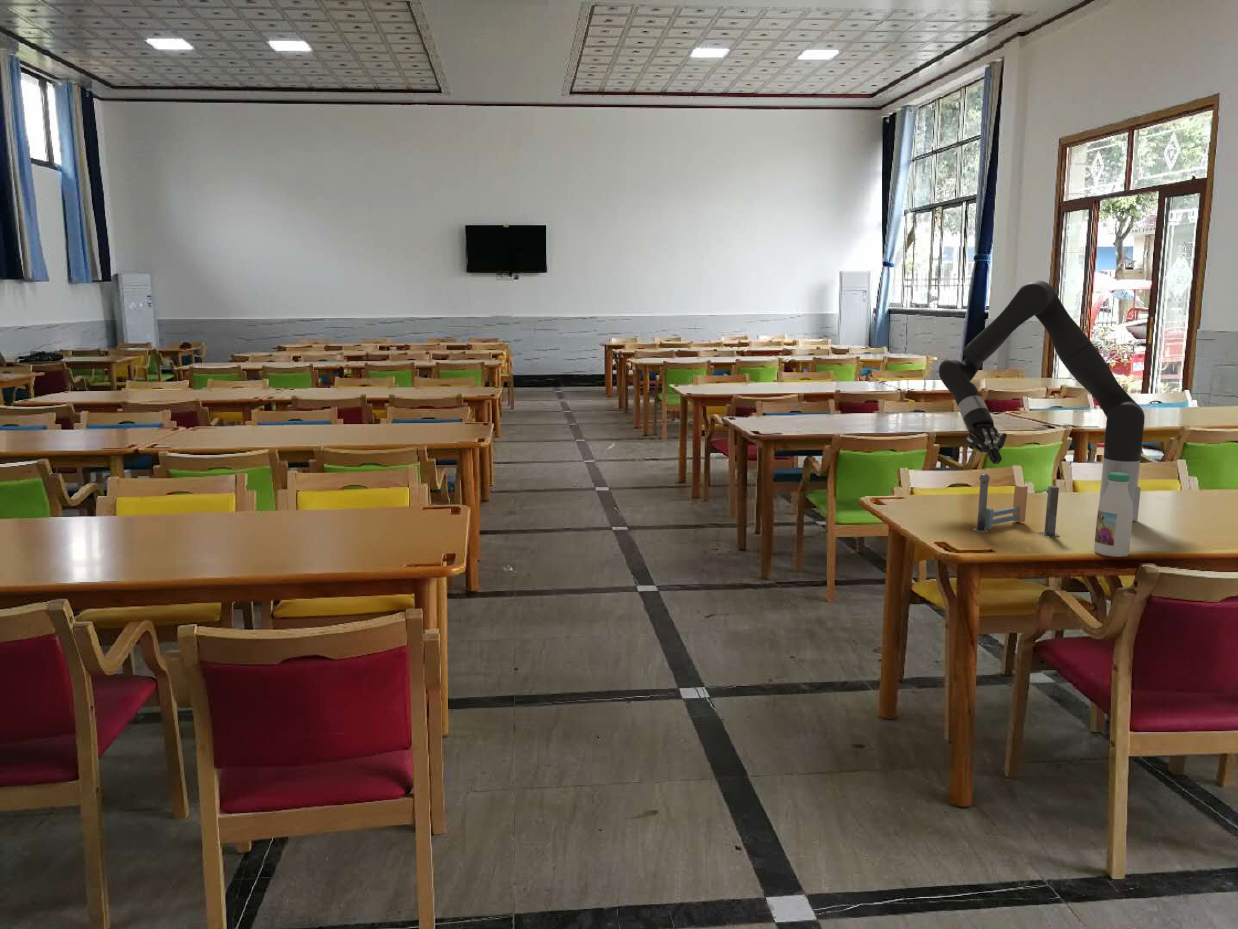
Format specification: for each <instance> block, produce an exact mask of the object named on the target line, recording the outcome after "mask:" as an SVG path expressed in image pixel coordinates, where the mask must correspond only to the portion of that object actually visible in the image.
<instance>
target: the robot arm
mask: <svg viewBox="0 0 1238 929" xmlns="http://www.w3.org/2000/svg"><path fill="white" fill-rule="evenodd" d="M1032 317H1036V319H1037V320H1038V321H1039V322H1040V323H1041V324H1042V326H1043V327H1044V329H1045V330H1046V332H1047V333H1048V335H1049V338H1050V340H1051V343H1052V345H1053V348H1054V351H1055V352H1056V355H1057V357H1058V358H1059V360H1060V361H1061V362H1062V364H1063V365H1064V367H1065V368H1066V369H1067V371H1068V372H1069V373H1070V374H1071V376H1072V377H1073V378H1074V379H1075V380H1076V381H1077V382H1078V384H1080V385H1081V386H1082V387H1083V388H1084V389H1085V390H1086V391H1087V392H1088V393H1090V394H1091V396H1092V397H1093V398H1094V399H1095V401H1096V403H1098V405H1099V407H1100V408H1101V410H1102V412H1103V413H1104V415H1105V417H1106V420H1105V434H1104V446H1103V457H1102V458H1103V460H1102V471H1101V480H1100V482H1101V483H1100V489H1099V490H1100V491H1099V501H1098V504H1099V503H1100V500H1101V498H1102V497H1103V495H1104V493H1105V492H1106V490H1107V487H1108V484H1109V482H1108V474H1109V473H1111V472H1120V473H1126V474H1129V475H1130V479H1129V483H1128V492H1129V495H1130V497H1131V500H1132V503H1133V521H1132V522H1136V521H1138V520H1139V519H1138V518H1139V509H1140V502H1141V501H1140V499H1141V490H1142V489H1141V487H1140V486H1139V476H1140V467H1141V458H1142V450H1143V449H1142V448H1143V438H1144V427H1145V413H1144V409H1143V408H1142V407H1141V406H1140V405H1139V404H1138V403H1137V402H1136V401H1135V400H1134V398H1132V397H1131V396H1130V395H1129V394H1128V392H1127V391H1126V390H1125V389H1124V388H1123V387H1122V386H1121V385H1120V383H1119V382H1118V381H1117V378H1116V377H1115V376H1114V374H1113V372H1112V370H1111V369H1110V366H1109V365H1108V363H1107V362H1106V360H1105V359H1104V357H1103V356H1102V354H1101V353H1100V351H1099V350H1098V348H1096V346H1095V344H1094V343H1093V342H1092V341H1091V339H1090V338H1089V337H1088V335H1086V333H1085V332H1084V331H1083V329H1082V328H1081V327H1080V325H1078V324H1077V322H1076V321H1075V320H1074V319H1073V318H1072V317H1071V316H1070V314H1069V313H1068V311H1067V309H1066V308H1065V306H1064V304H1063V303H1062V301H1061V299H1060V297H1059V296H1058V294H1057V292H1056V290H1055V289H1054V287H1052V285H1051V284H1049V282H1046V281H1044V280H1034V281H1030V282H1027V283H1025V284H1023V285H1022V286H1021V287H1020V288H1018V291H1017V292H1016V294H1015V295H1014V297H1013V298H1012V299H1011V300H1010V301H1009V303H1008V304H1007V306H1006V307H1005V308H1004V309H1003V310H1002V311H1001V313H999V315H997V317H996V318H994V319H993V321H992V322H990V323H989V324H988V325H986V327H984V329H983V330H981V331H980V332H979V333H978V334H977V335H976V336H975V337H974V338H973V339H972V340H971V341H970V342H969V343H968V344H967V345H966V346H965V347H964V348H963V350H962V353H963V355H964V358H965V359H964V360H962V361H960V360H957V359H954V358H947V359H944V360H943V361H941V363H940V365H939V367H938V376H939V378H940V380H941V382H942V383H943V385H944V386H945V387H946V389H947V391H948V392H950V394H951V395H952V396H953V398H954V401H955V404H956V405H957V408H958V410H959V414H960V417H961V418H962V420H963V422H964V425H965V427H966V429H967V431H968V433H969V435H968V436H967V437H966V439H965V442H966V443H968V444H969V445H970V446H972V447H973V448H974V449H975V450H976V451H978V452H980V453H985V454H986V455H987V456H988V458H989V460H990V461H991V462H992V464H993V465H997V464H998V465H999V464H1000V463H1001V462H1002V459H1003V458H1002V457H1003V456H1001V453H1000V451H1001V449H1002V448H1003V447H1004V444H1005V442H1006V439H1007V437H1008V435H1007V433H1004V432H1003V433H1000V432H999V431H998V429H997V428H996V427H995V424H994V423H995V422H994V420H993V417H992V415H991V412H990V411H989V409H988V407H987V404H986V402H985V401H984V399H983V398H982V396H981V394H980V392H979V390H978V388H977V387H976V385H975V384H974V383H973V382H971V381H972V380H973V379H974V377H975V376H976V374H977V373H978V372H979V370H980V368H981V367H982V365H983V363H984V362H986V361H987V360H988V358H990V357H991V356H992V355H993V354H994V353H995V352H996V351H997V350H998V349H999V348H1000V347H1001V346H1002V345H1003V344H1004V343H1005V341H1006V340H1007V339H1008V338H1009V336H1011V334H1012V333H1013V332H1014V331H1016V329H1018V328H1019V327H1021V325H1022V324H1023V323H1025V322H1027V321H1028V320H1030V319H1031V318H1032Z"/></svg>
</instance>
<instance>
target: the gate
mask: <svg viewBox="0 0 1238 929" xmlns="http://www.w3.org/2000/svg"><path fill="white" fill-rule="evenodd" d="M1028 488H1029V487H1028V485H1025V484H1017V485H1014V491H1013V492H1014V493H1013V504H1012V507H1007V508H1003V509H999V510H994V508H990V507H986V520H985V529H988V530H989V529H992V528H993V525H998V524H1002V523H1008V522H1017V523H1025V521H1026V514H1027V513H1026V511H1027V500H1028ZM1009 514H1012V515H1009ZM1005 515H1006V516H1005ZM999 516H1001V517H999Z"/></svg>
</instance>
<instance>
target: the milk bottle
mask: <svg viewBox="0 0 1238 929" xmlns="http://www.w3.org/2000/svg"><path fill="white" fill-rule="evenodd" d="M1129 479H1130V475H1129V474H1126V473H1120V472H1111V473H1109V474H1108V482H1109V484H1108V487H1107V490H1106V492H1105V493H1104V495H1103V497H1102V498H1101V500H1100V499H1099V500H1100V503H1099V502H1098V508H1097V515H1096V525H1095V536H1094V545H1093V549H1094V552H1095V553H1096V554H1098V555H1102V556H1106V557H1107V556H1108V557H1112V558H1113V557H1114V558H1123V557H1128V556H1129V555H1130V551H1131V550H1130V549H1131V539H1132V529H1133V522H1134V521H1133V503H1132V500H1131V497H1130V495H1129V492H1128V483H1129Z"/></svg>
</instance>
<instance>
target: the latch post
mask: <svg viewBox="0 0 1238 929" xmlns="http://www.w3.org/2000/svg"><path fill="white" fill-rule="evenodd" d="M1047 486H1048V488H1047V496H1046V497H1047V499H1046V513H1045V519H1044V520H1045V522H1044V531H1039V533H1038V534H1040V535H1041V534H1042V535H1041V536H1043V535H1044V536H1049V537H1048V538H1061V536H1060V534H1058V533H1057V532H1056V528H1057V527H1056V526H1057V515H1058V514H1057V513H1058V504H1059V492H1060V487H1059V486H1058V485H1047ZM1044 536H1043V537H1044Z"/></svg>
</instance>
